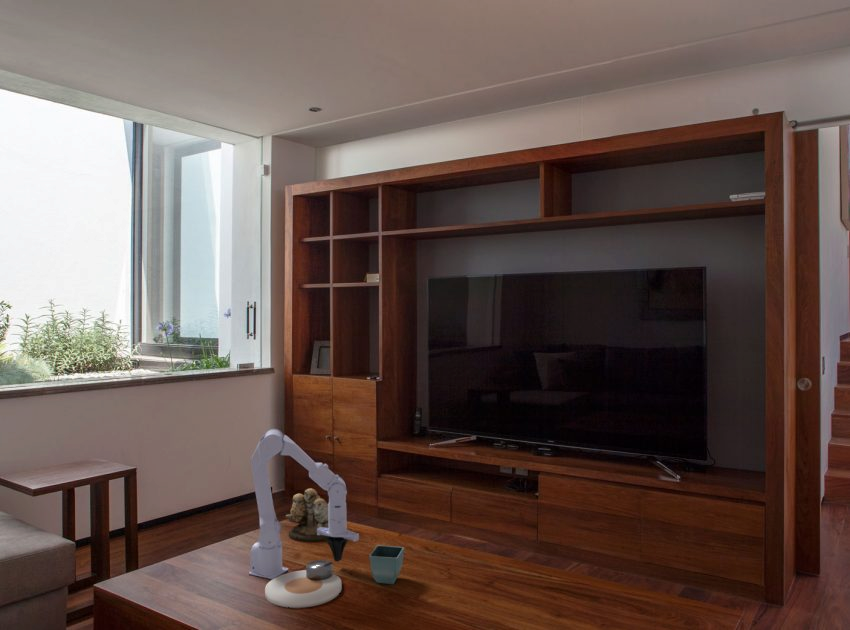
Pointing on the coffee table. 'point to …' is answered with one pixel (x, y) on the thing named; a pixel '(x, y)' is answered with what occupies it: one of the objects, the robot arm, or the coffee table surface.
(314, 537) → the owl figurine
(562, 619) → the coffee table surface
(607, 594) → the coffee table surface
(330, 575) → the cast cover
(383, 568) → the flower pot
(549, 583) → the coffee table surface
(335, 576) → the turntable
